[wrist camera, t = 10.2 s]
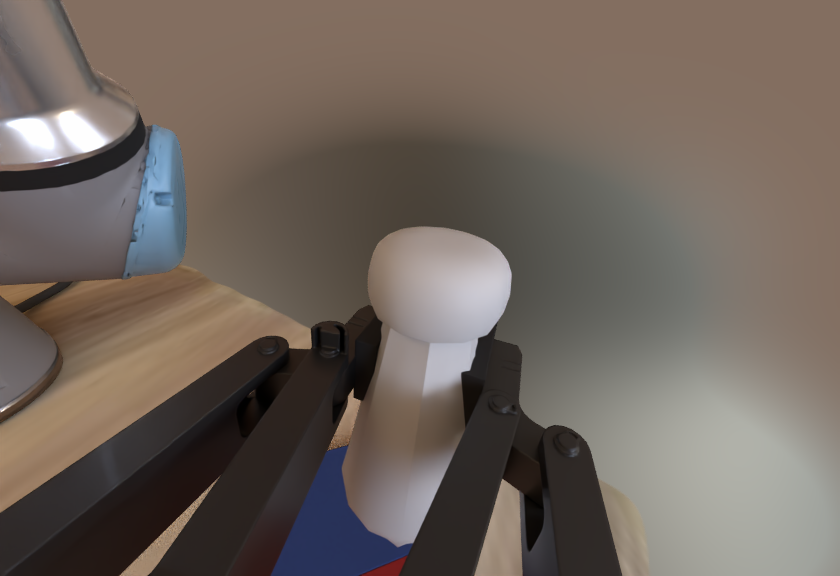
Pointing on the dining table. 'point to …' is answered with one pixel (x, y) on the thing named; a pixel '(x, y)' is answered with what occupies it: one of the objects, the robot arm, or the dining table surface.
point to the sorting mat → (335, 533)
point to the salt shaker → (419, 370)
